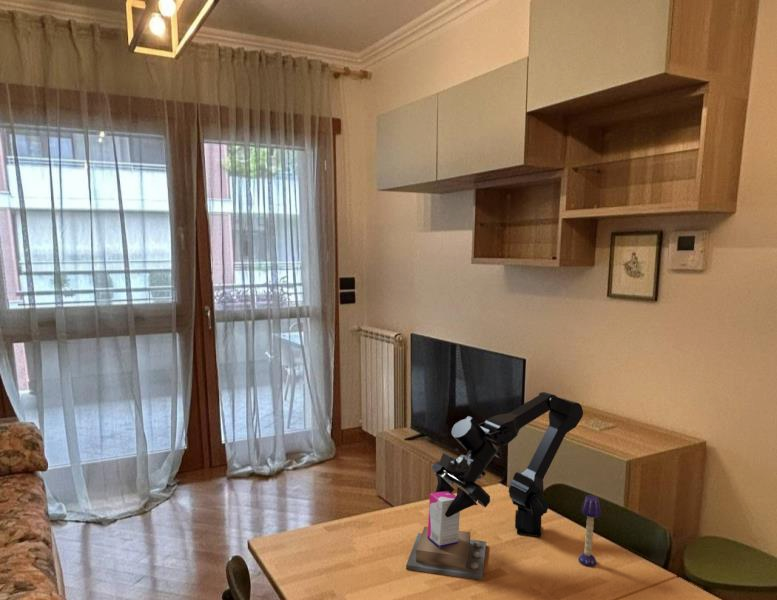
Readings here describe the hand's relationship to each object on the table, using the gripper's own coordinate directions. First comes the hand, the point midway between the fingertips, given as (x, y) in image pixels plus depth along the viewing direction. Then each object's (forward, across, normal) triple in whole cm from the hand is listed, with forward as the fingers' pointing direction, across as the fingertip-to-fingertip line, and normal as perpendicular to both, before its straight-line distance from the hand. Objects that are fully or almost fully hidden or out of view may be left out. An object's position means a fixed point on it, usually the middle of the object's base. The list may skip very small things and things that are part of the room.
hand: (439, 511), depth 133 cm
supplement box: (+5, 0, +6) cm, 8 cm away
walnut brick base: (+7, 0, +10) cm, 12 cm away
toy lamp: (-14, +19, +31) cm, 39 cm away
